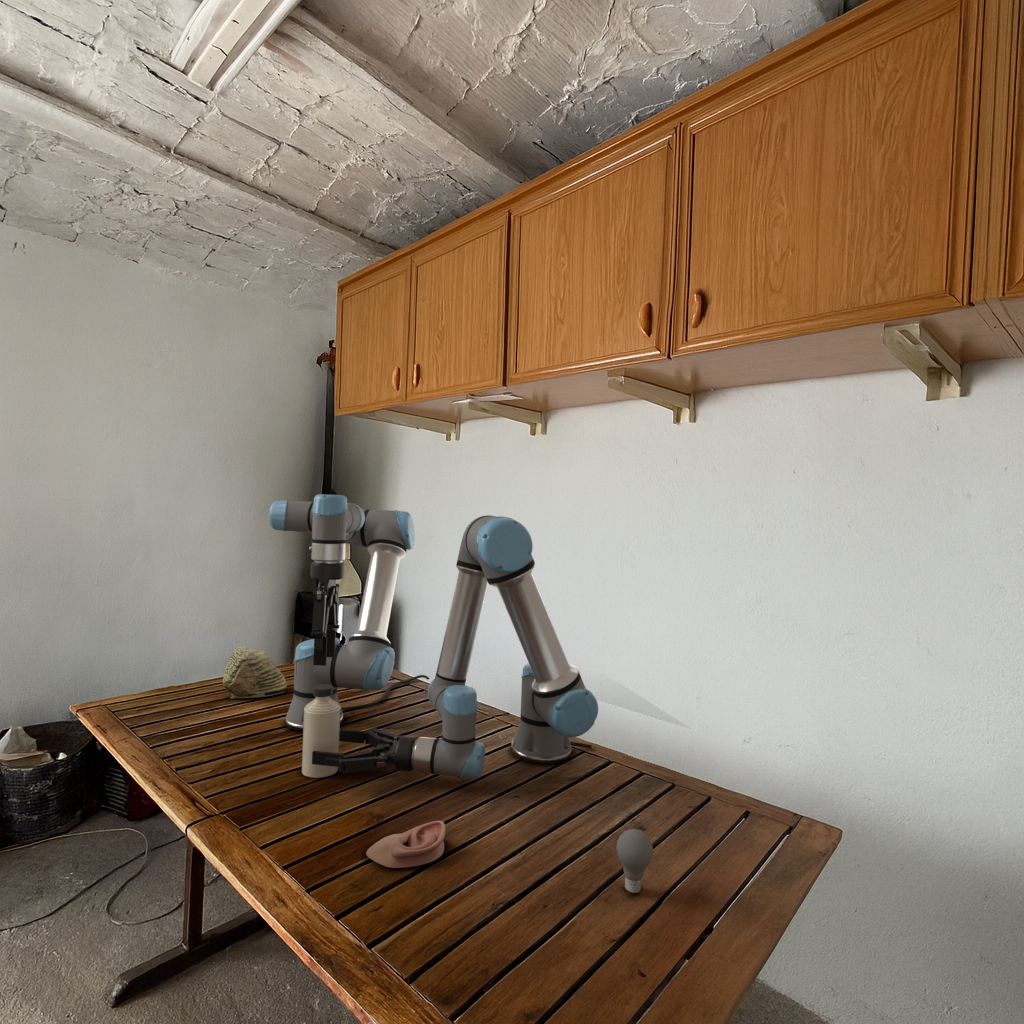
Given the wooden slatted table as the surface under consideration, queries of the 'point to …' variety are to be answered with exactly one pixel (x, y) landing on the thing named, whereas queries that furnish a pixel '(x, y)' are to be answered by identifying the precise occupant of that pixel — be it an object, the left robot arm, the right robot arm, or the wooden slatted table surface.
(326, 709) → the bottle
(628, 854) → the light bulb
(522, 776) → the wooden slatted table surface
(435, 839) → the anatomical model
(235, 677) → the fossil
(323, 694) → the cap
